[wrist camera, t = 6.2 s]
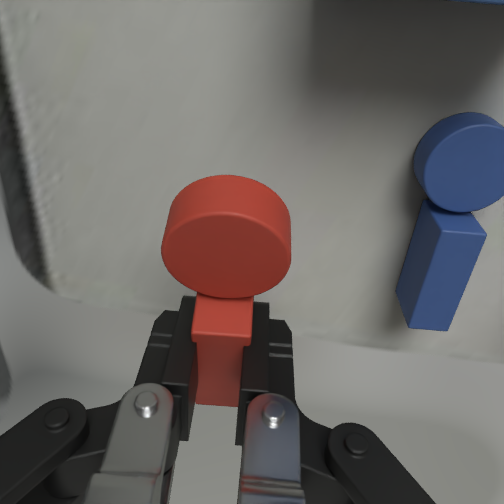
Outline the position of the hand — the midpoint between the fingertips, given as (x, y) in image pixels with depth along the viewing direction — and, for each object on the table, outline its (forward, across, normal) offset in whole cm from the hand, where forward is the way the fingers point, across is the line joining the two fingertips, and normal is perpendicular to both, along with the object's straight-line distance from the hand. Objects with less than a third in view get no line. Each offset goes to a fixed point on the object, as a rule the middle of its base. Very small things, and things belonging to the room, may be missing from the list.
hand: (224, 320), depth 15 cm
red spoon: (0, 0, -2) cm, 2 cm away
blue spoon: (+5, -8, -2) cm, 10 cm away
